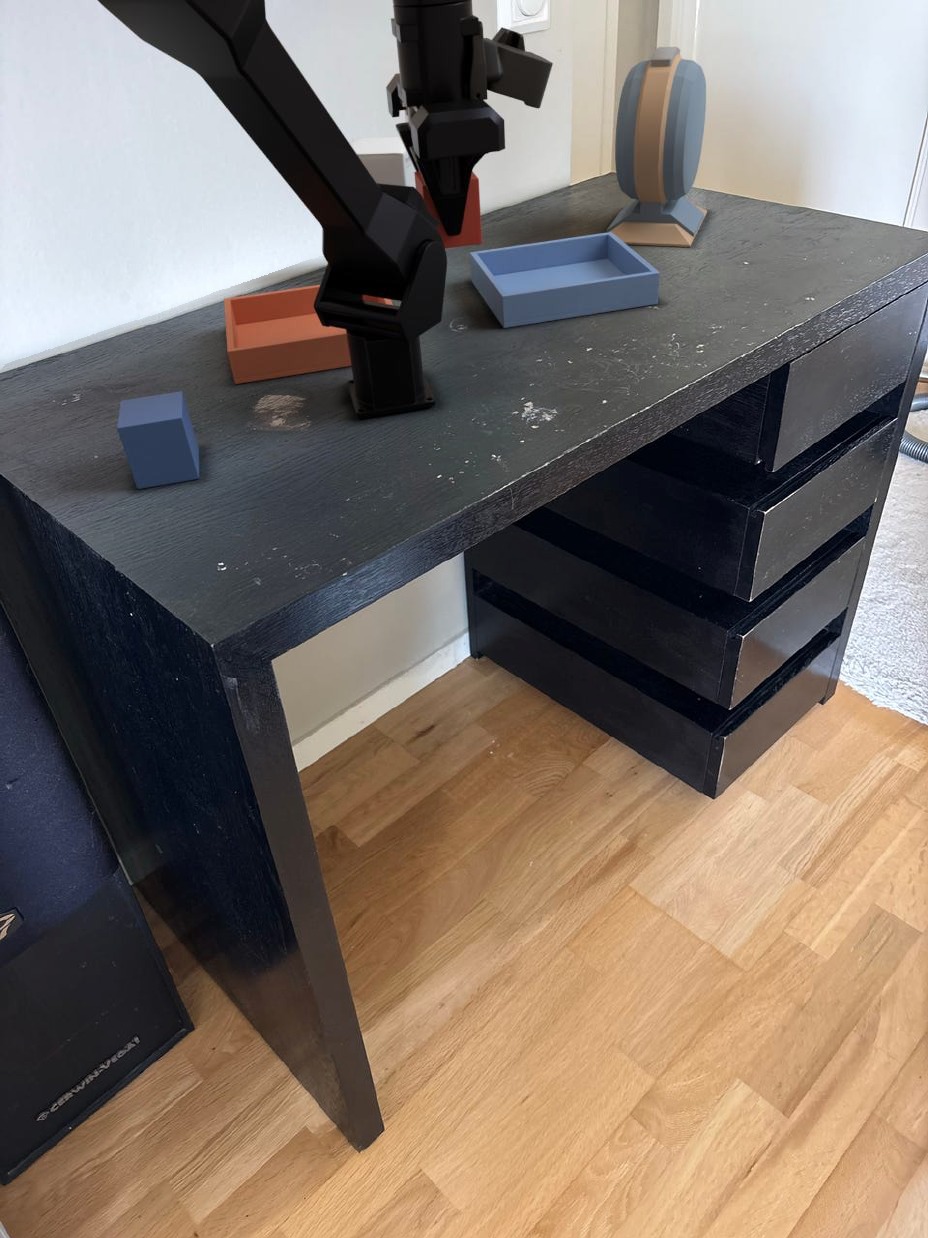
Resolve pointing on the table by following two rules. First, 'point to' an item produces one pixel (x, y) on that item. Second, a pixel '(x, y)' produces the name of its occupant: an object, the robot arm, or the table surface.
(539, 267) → the blue tray
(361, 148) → the white packaging box
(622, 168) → the blue rounded upright piece
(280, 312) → the red tray
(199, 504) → the table surface
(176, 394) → the blue block
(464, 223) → the red block
